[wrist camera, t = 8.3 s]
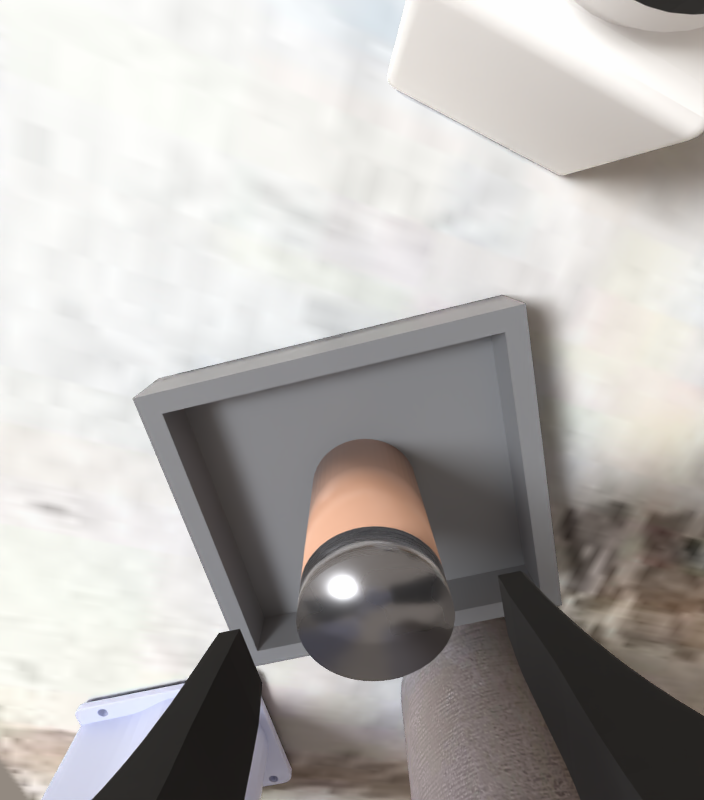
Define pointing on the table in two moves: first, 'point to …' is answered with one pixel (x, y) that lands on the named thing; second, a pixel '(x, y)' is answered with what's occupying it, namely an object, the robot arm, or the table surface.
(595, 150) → the medicine bottle
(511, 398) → the tray
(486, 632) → the pillar candle
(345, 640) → the salt shaker
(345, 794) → the table surface
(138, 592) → the table surface
